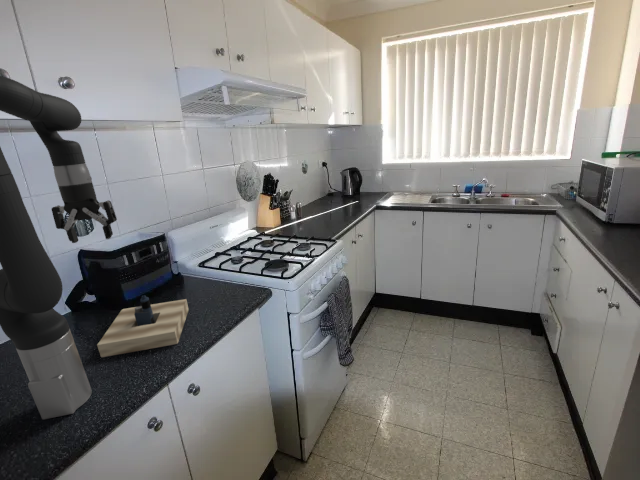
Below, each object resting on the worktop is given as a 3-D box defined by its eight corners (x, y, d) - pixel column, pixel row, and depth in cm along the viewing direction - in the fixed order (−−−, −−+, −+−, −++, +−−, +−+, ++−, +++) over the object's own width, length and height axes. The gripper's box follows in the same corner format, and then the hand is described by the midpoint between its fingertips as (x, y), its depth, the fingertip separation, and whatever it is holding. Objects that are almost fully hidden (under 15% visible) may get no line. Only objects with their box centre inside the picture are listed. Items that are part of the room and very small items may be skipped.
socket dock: (177, 343, 96) (174, 331, 94) (101, 357, 92) (97, 345, 91) (188, 309, 114) (186, 299, 113) (125, 319, 111) (122, 309, 110)
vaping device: (154, 333, 102) (145, 297, 98) (137, 333, 102) (127, 298, 98) (158, 328, 104) (149, 293, 100) (142, 329, 105) (132, 294, 101)
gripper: (36, 187, 84) (57, 247, 89) (98, 181, 87) (115, 240, 92) (52, 183, 91) (70, 239, 96) (109, 177, 94) (124, 233, 99)
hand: (92, 240), depth 94 cm, fingers open, 8 cm apart
